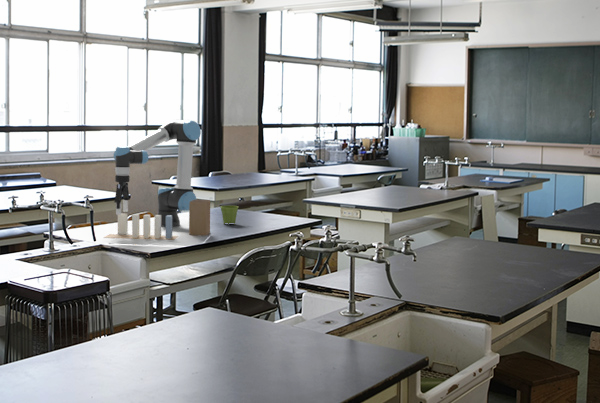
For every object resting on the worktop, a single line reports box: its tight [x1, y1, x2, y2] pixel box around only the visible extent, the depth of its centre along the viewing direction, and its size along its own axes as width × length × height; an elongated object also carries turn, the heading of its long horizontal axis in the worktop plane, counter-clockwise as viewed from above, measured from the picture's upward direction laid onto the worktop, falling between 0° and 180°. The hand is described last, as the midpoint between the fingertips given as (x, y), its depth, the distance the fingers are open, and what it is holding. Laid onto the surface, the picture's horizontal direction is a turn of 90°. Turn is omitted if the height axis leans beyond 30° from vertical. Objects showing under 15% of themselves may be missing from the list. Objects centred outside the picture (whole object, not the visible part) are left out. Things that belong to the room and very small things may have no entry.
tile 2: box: [131, 213, 140, 238], centre depth 366 cm, size 5×3×12 cm, turn 179°
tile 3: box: [142, 214, 151, 238], centre depth 366 cm, size 5×3×12 cm, turn 179°
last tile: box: [165, 215, 173, 239], centre depth 366 cm, size 5×3×12 cm, turn 179°
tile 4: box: [153, 214, 162, 238], centre depth 366 cm, size 5×3×12 cm, turn 179°
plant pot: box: [219, 205, 239, 224], centre depth 427 cm, size 12×12×11 cm
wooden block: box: [188, 199, 211, 237], centre depth 381 cm, size 10×10×20 cm
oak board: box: [103, 233, 179, 241], centre depth 367 cm, size 12×38×1 cm, turn 89°
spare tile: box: [117, 212, 129, 235], centre depth 377 cm, size 5×3×12 cm, turn 89°
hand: (122, 213), depth 376 cm, fingers open, 13 cm apart
